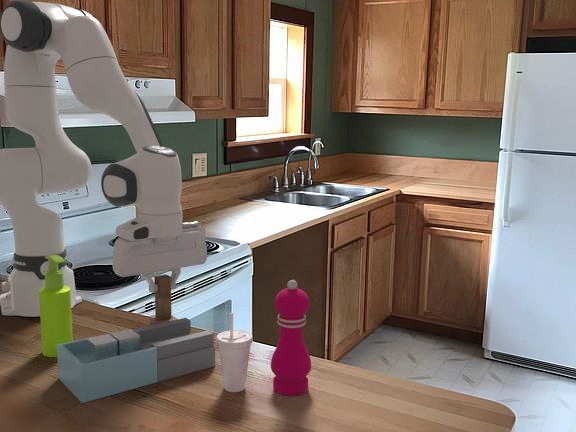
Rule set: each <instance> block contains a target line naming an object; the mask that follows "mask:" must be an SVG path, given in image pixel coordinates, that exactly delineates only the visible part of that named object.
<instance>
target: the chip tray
mask: <svg viewBox="0 0 576 432" xmlns="http://www.w3.org/2000/svg"><path fill="white" fill-rule="evenodd" d="M125 330H130V328H128V329H124V330H123V329H122V330H118V331H114V332H113V331H112V332H109V333H107V334H109V335H111V333H116V332H120V331H125ZM105 334H106V333H105ZM105 334H103V335H105ZM101 335H102V334H101ZM101 335H98V336H101ZM96 336H97V335H95V336H93V337H96ZM91 337H92V336H90V337H89V338H91ZM87 338H88V337H85V338H81V339H77V340H73V341H71V342H67V343H62V344H57V357H56V359H57V374H58V375H57V376H58V379H59V380H60V382H61V383H62V384H64V386H65V387H66V388H67V389H68V390H69V391H70V393H72V395H73V396H75V398H76V399H77V400H78V401H79V402H80V403H81V404H84V403H89V402H91V401H95V400H99V399H102V398H105V397H109V396H112V395H117V394H120V393H124V392H128V391H131V390H134V389H138V388H142V387H145V386H149V385H153V384H156V383H159V382H158V373H157V348H156V347H152V348H148V349H144V350H140V351H136V352H131V353H127V354H123V355H119V356H115V357H111V358H107V359H102V360H98V361H94V362H90V361H89V360H88V353H87Z"/></svg>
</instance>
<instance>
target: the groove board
mask: <svg viewBox="0 0 576 432" xmlns="http://www.w3.org/2000/svg"><path fill="white" fill-rule="evenodd" d="M191 322H192V321H191V319H189V318H187V317H182V318H177V320H173V321H168V322H163V323H159V324H154V325H150V326H149V325H145V326H141V327H136V328H131V330H133V331H134V332H136V333H137V334H139V335H140V346H141V350H144V349H148V348H152V347H156V348H157V373H158V382H157V383H159V382H163V381H168V380H170V379H174V378H178V377H182V376H185V375H188V374H192V373H195V372H199V371H200V372H201V371H202V370H207V369H210V368H214V367H216V346H215V345H214V343H215V341H214V339H215V338H214V337H215V335H214V332H212V331H210V330H205V331H199V332H196V333H193V332H192V329H191V324H192V323H191Z"/></svg>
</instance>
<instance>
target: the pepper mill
mask: <svg viewBox="0 0 576 432" xmlns="http://www.w3.org/2000/svg"><path fill="white" fill-rule="evenodd" d="M286 286H287V287H286V288H283V289H282V290H280V291H279V292H278V293H277V295H276V296H275V299H274V307H275V309H276V311H277V313H278V314H277V322H276V323H277V324H278V325H279V329H280V333H279V340H278V343H277V345H276V347H275V350H274V351H273V354H272V356H271V359H270V369H271V371H272V373H273V375H274V377H273V380H272V384H273V385H272V388H273V390H274V391H275V392H276V393H278V395H279V394H280V395H281V396H282V395H283V396H289V397H290V396H291V397H292V396H300V395H302V394H304V393H306V392H307V391H308V388H309V378H308V375H309V373H310V372H311V370H312V359H311V355H310V352H309V351H308V348H307V346H306V343H305V341H304V326H305V325H306V324H307V321H306V319H307V316H306V315H305V314H306V313H307V312H308V310H309V307H310V299H309V296H308V294H307V292H305V291H304V290H303V289H300V288H298V283H297V281H296V280H295V279H291V280H289V281H288V282H287V285H286Z"/></svg>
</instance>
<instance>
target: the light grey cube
mask: <svg viewBox="0 0 576 432" xmlns="http://www.w3.org/2000/svg"><path fill="white" fill-rule="evenodd" d="M95 336H96V337H94V336H90V337H91V338H90V337H86V338H87V353H88V360H89V361H90V362H94V361H98V360H102V359H107V358H111V357H115V356H118V353H117V340H116V339H115V338H113V337H112V336H111V335H109V334H108V333H105V335H104V334H101V336H99V335H95Z"/></svg>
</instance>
